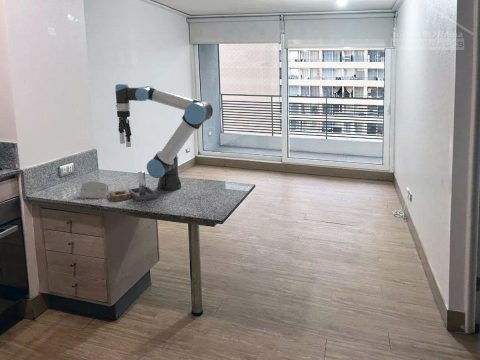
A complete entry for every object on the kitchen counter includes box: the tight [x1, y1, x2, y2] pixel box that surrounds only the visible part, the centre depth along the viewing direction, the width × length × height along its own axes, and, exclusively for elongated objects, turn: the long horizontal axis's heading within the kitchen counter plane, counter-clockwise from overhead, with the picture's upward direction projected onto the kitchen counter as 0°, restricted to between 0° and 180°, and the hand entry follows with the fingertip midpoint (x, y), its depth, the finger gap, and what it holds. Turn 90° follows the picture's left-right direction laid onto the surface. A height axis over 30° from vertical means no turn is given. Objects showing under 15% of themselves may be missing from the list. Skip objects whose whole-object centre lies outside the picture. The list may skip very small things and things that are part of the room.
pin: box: [137, 170, 147, 196], centre depth 274 cm, size 4×4×14 cm
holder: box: [108, 189, 132, 202], centre depth 272 cm, size 10×10×3 cm
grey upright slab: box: [79, 180, 110, 199], centre depth 276 cm, size 17×5×10 cm, turn 88°
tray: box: [128, 186, 158, 202], centre depth 275 cm, size 12×18×3 cm, turn 29°
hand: (125, 145), depth 281 cm, fingers open, 13 cm apart
